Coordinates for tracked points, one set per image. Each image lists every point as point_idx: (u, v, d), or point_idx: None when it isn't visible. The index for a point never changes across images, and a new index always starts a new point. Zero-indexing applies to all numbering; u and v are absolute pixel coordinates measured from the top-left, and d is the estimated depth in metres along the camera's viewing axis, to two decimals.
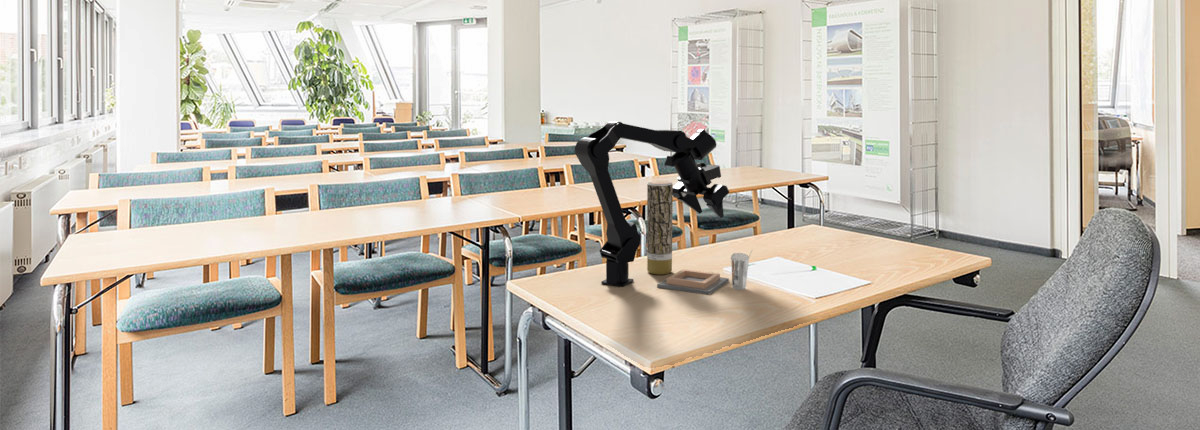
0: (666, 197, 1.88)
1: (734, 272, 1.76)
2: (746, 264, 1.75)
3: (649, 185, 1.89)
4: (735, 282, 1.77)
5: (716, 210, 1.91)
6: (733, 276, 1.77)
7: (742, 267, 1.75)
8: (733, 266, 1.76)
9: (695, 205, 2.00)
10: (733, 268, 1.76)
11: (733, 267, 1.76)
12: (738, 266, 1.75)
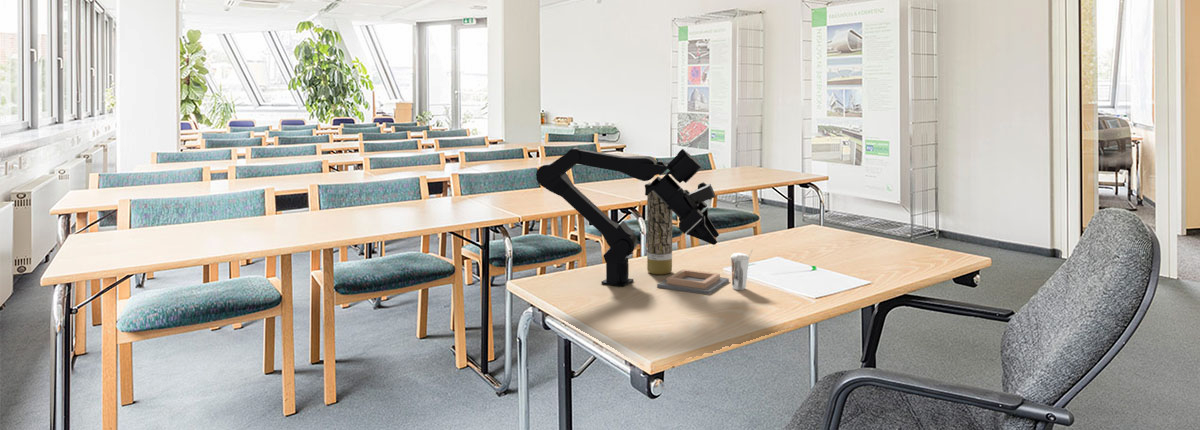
0: None
1: (734, 272, 1.76)
2: (746, 264, 1.75)
3: None
4: (735, 282, 1.77)
5: (700, 237, 1.72)
6: (733, 276, 1.77)
7: (742, 267, 1.75)
8: (733, 266, 1.76)
9: (708, 229, 1.82)
10: (733, 268, 1.76)
11: (733, 267, 1.76)
12: (738, 266, 1.75)
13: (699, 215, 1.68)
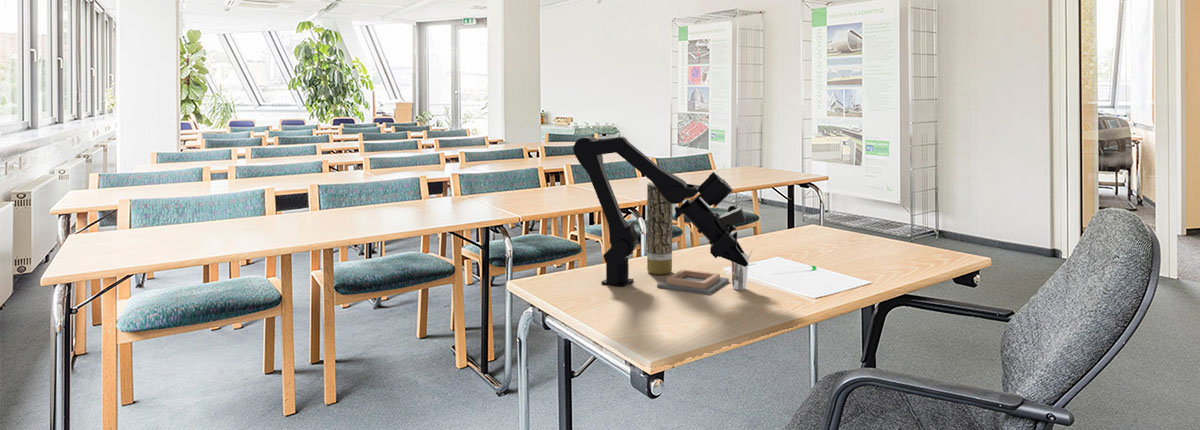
0: None
1: (734, 272, 1.76)
2: None
3: (649, 185, 1.89)
4: (735, 282, 1.77)
5: (732, 259, 1.74)
6: (733, 276, 1.77)
7: (742, 267, 1.75)
8: (733, 266, 1.76)
9: None
10: (733, 268, 1.76)
11: (733, 267, 1.76)
12: (738, 266, 1.75)
13: (731, 239, 1.67)
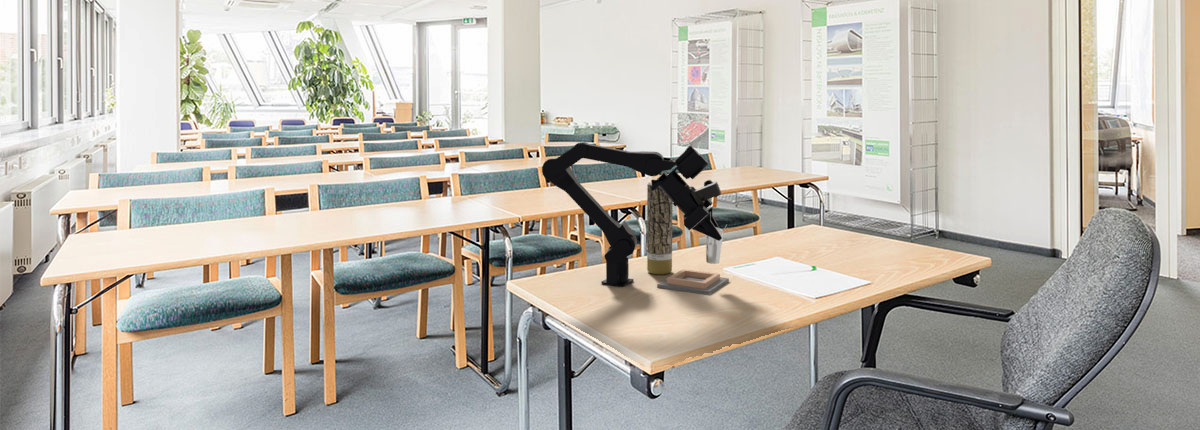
0: (666, 197, 1.88)
1: (708, 246, 1.77)
2: None
3: (649, 185, 1.89)
4: (709, 256, 1.78)
5: (705, 232, 1.75)
6: (707, 250, 1.78)
7: (716, 241, 1.76)
8: (707, 240, 1.77)
9: None
10: (707, 242, 1.77)
11: (707, 241, 1.77)
12: (712, 240, 1.76)
13: (705, 212, 1.69)
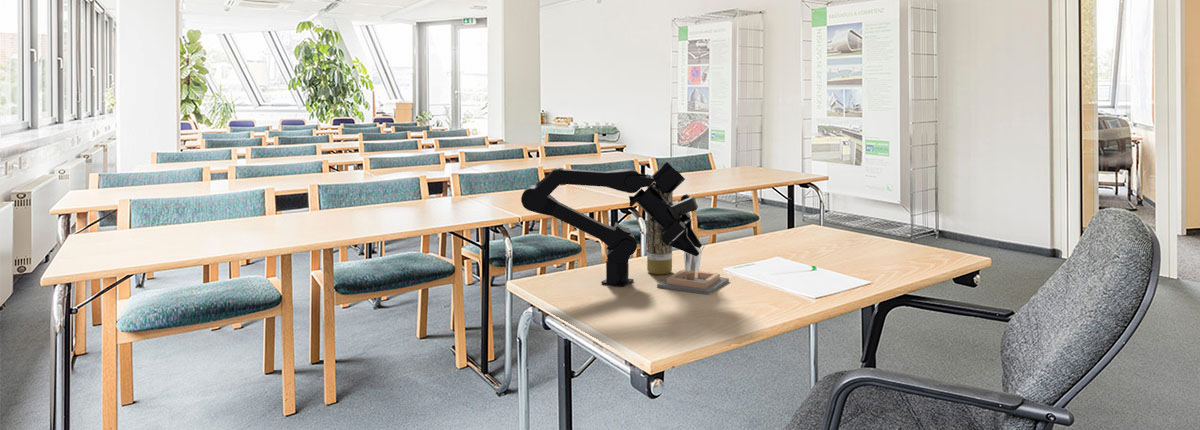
0: (666, 197, 1.88)
1: (686, 265, 1.80)
2: (698, 258, 1.79)
3: None
4: (688, 275, 1.81)
5: (683, 248, 1.75)
6: (686, 269, 1.81)
7: (694, 260, 1.79)
8: (686, 259, 1.80)
9: (691, 240, 1.85)
10: (686, 261, 1.80)
11: (686, 260, 1.80)
12: (690, 259, 1.79)
13: (681, 227, 1.71)
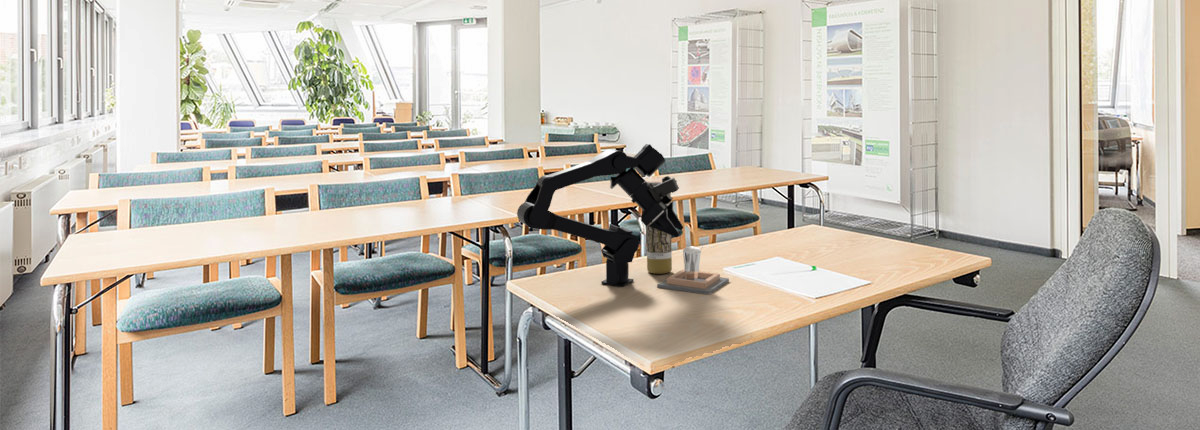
0: None
1: (686, 265, 1.80)
2: (697, 257, 1.79)
3: None
4: (687, 275, 1.81)
5: (663, 229, 1.75)
6: (685, 269, 1.81)
7: (693, 260, 1.79)
8: (685, 259, 1.80)
9: (673, 222, 1.85)
10: (685, 261, 1.80)
11: (685, 260, 1.80)
12: (689, 259, 1.79)
13: (661, 208, 1.71)
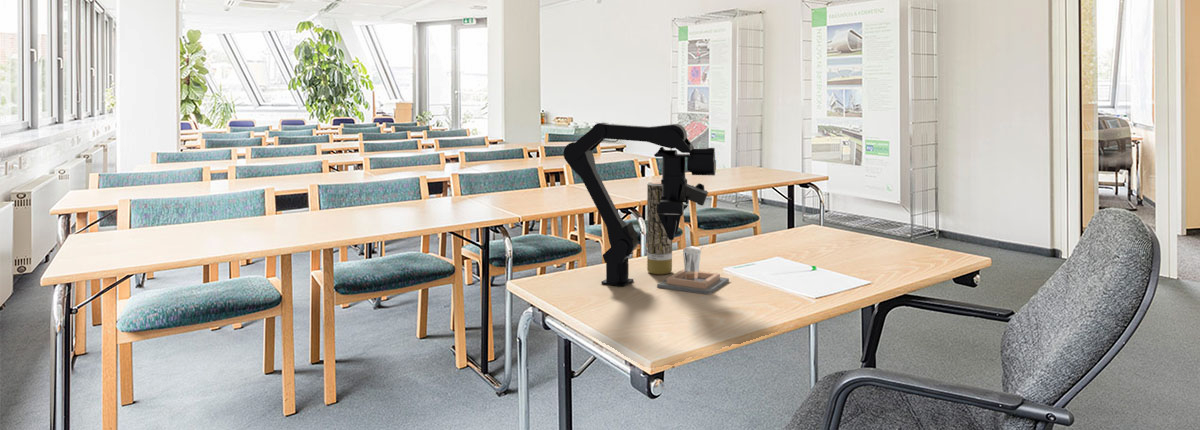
0: None
1: (686, 265, 1.80)
2: (697, 257, 1.79)
3: (649, 185, 1.89)
4: (687, 275, 1.81)
5: (665, 225, 1.73)
6: (685, 269, 1.81)
7: (693, 260, 1.79)
8: (685, 259, 1.80)
9: None
10: (685, 261, 1.80)
11: (685, 260, 1.80)
12: (689, 259, 1.79)
13: (681, 210, 1.68)
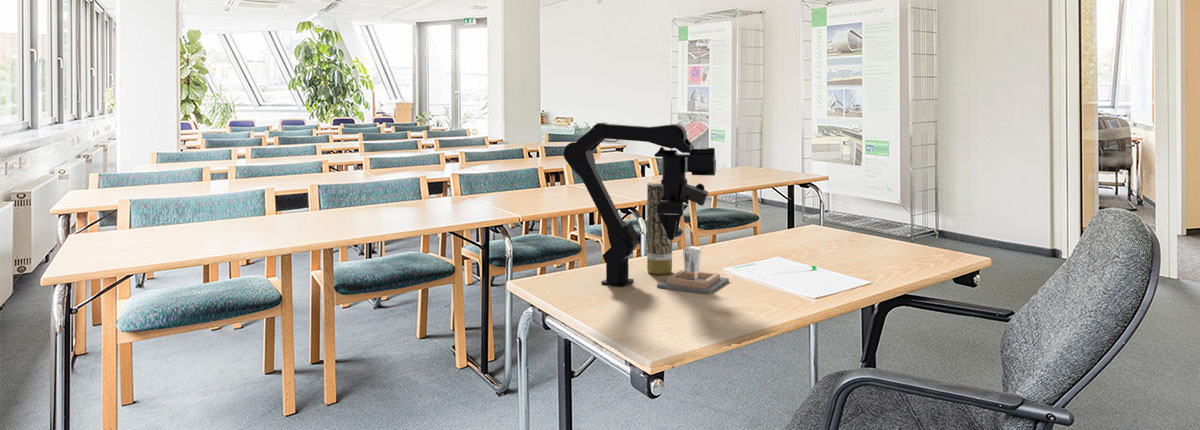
0: None
1: (686, 265, 1.80)
2: (697, 257, 1.79)
3: (649, 185, 1.89)
4: (687, 275, 1.81)
5: (665, 225, 1.73)
6: (685, 269, 1.81)
7: (693, 260, 1.79)
8: (685, 259, 1.80)
9: None
10: (685, 261, 1.80)
11: (685, 260, 1.80)
12: (689, 259, 1.79)
13: (681, 210, 1.68)
